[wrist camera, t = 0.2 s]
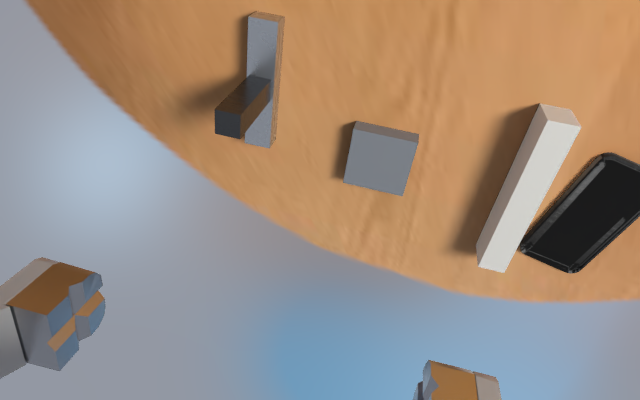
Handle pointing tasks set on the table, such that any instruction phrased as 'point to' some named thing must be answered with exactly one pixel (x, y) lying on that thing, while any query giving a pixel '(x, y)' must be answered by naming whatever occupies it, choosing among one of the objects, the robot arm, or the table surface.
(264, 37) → the upside-down t block
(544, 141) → the bar
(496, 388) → the robot arm
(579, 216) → the phone
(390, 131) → the slate tile
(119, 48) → the table surface
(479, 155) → the table surface
